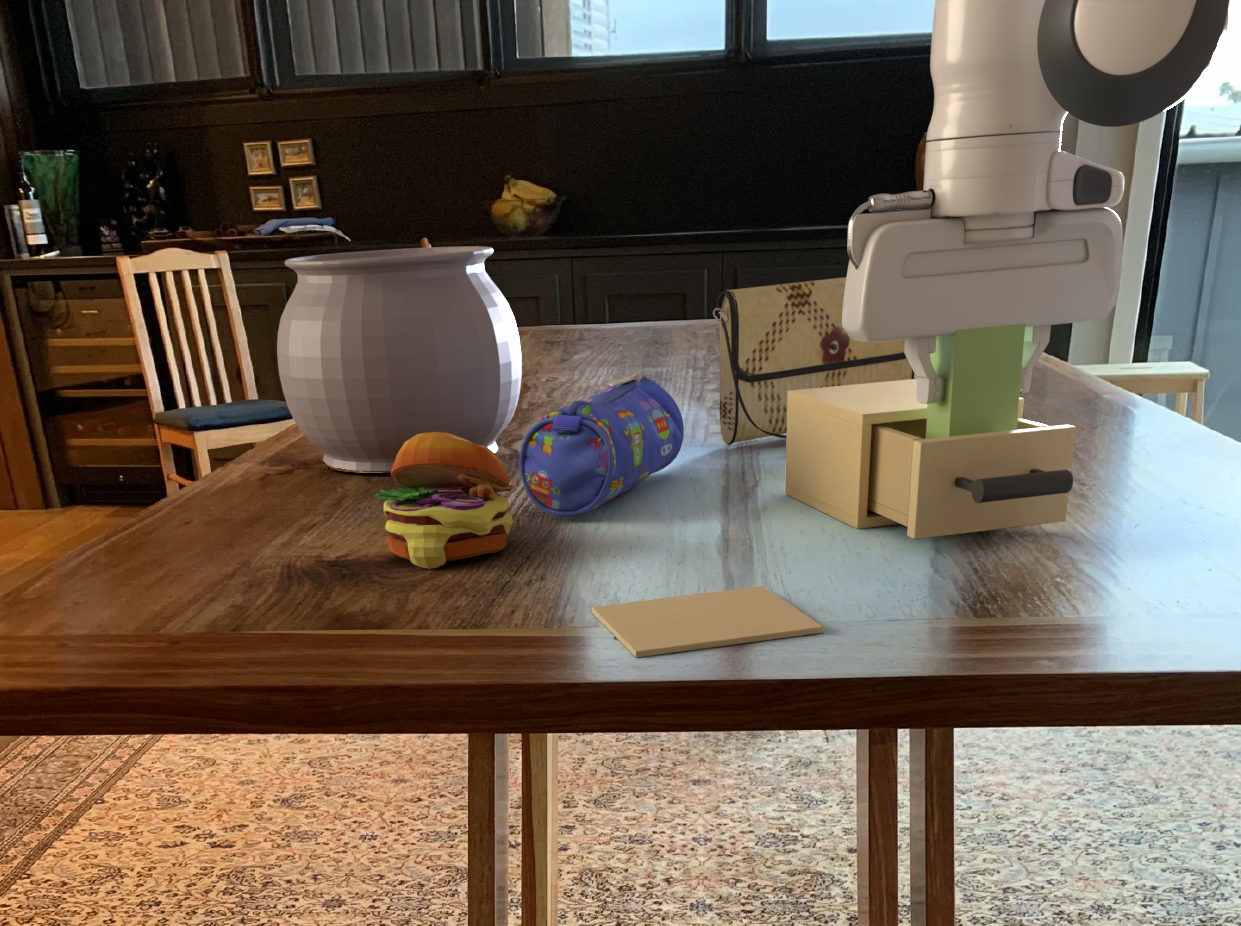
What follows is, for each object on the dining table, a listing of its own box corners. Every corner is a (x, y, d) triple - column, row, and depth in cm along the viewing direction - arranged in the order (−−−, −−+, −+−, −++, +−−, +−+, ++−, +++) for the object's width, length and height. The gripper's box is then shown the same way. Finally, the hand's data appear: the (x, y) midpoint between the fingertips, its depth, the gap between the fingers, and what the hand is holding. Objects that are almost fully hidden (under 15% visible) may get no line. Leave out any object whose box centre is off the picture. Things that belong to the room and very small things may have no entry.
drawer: (1099, 533, 94) (1113, 435, 91) (943, 553, 92) (951, 452, 89) (973, 488, 110) (980, 402, 106) (836, 503, 107) (839, 416, 104)
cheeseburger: (359, 569, 99) (353, 429, 96) (414, 567, 109) (410, 440, 106) (485, 569, 96) (483, 426, 94) (530, 567, 106) (528, 438, 104)
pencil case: (605, 470, 129) (602, 366, 124) (690, 472, 126) (689, 366, 121) (517, 522, 111) (509, 403, 106) (613, 526, 108) (608, 403, 103)
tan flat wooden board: (762, 591, 89) (762, 585, 89) (823, 632, 80) (823, 626, 80) (591, 612, 86) (591, 606, 86) (635, 657, 78) (635, 651, 78)
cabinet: (1012, 511, 105) (1024, 398, 101) (857, 529, 103) (862, 414, 99) (925, 478, 118) (933, 377, 114) (784, 493, 115) (787, 390, 111)
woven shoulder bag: (748, 455, 132) (749, 292, 125) (705, 446, 137) (704, 290, 130) (955, 416, 146) (967, 268, 139) (908, 410, 151) (918, 267, 144)
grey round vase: (499, 481, 126) (481, 254, 117) (255, 485, 131) (220, 267, 122) (548, 435, 148) (536, 241, 139) (338, 440, 152) (313, 252, 143)
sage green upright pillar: (988, 468, 101) (1000, 314, 96) (1012, 476, 98) (1026, 317, 93) (923, 477, 100) (931, 321, 95) (946, 485, 97) (956, 324, 92)
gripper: (870, 195, 85) (862, 417, 92) (1146, 174, 89) (1120, 389, 96) (829, 196, 91) (824, 406, 97) (1092, 177, 95) (1070, 380, 101)
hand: (973, 397), depth 96 cm, fingers closed on sage green upright pillar, 5 cm apart
